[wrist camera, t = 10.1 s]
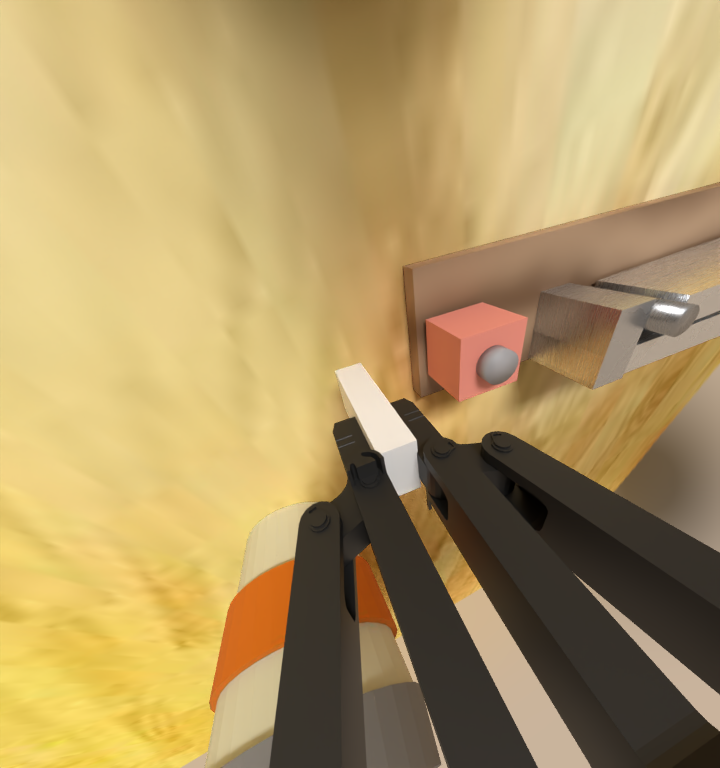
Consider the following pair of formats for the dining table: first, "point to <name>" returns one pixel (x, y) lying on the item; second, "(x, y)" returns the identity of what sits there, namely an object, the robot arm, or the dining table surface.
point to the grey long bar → (604, 334)
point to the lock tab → (475, 349)
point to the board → (552, 263)
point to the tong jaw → (674, 287)
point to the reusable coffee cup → (265, 652)
